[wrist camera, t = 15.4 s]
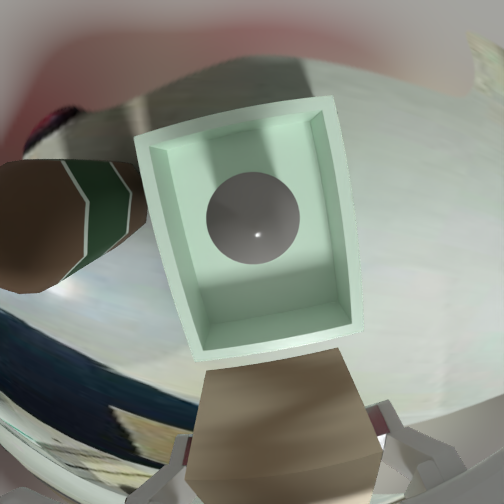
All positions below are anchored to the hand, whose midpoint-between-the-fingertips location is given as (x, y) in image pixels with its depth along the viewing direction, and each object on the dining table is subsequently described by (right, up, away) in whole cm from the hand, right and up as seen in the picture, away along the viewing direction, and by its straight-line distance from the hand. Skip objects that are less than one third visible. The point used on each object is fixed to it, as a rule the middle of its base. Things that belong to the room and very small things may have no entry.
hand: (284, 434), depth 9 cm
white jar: (-1, +11, +14) cm, 18 cm away
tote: (-1, +9, +15) cm, 18 cm away
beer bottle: (-14, +11, +15) cm, 23 cm away
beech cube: (0, 0, +2) cm, 2 cm away
